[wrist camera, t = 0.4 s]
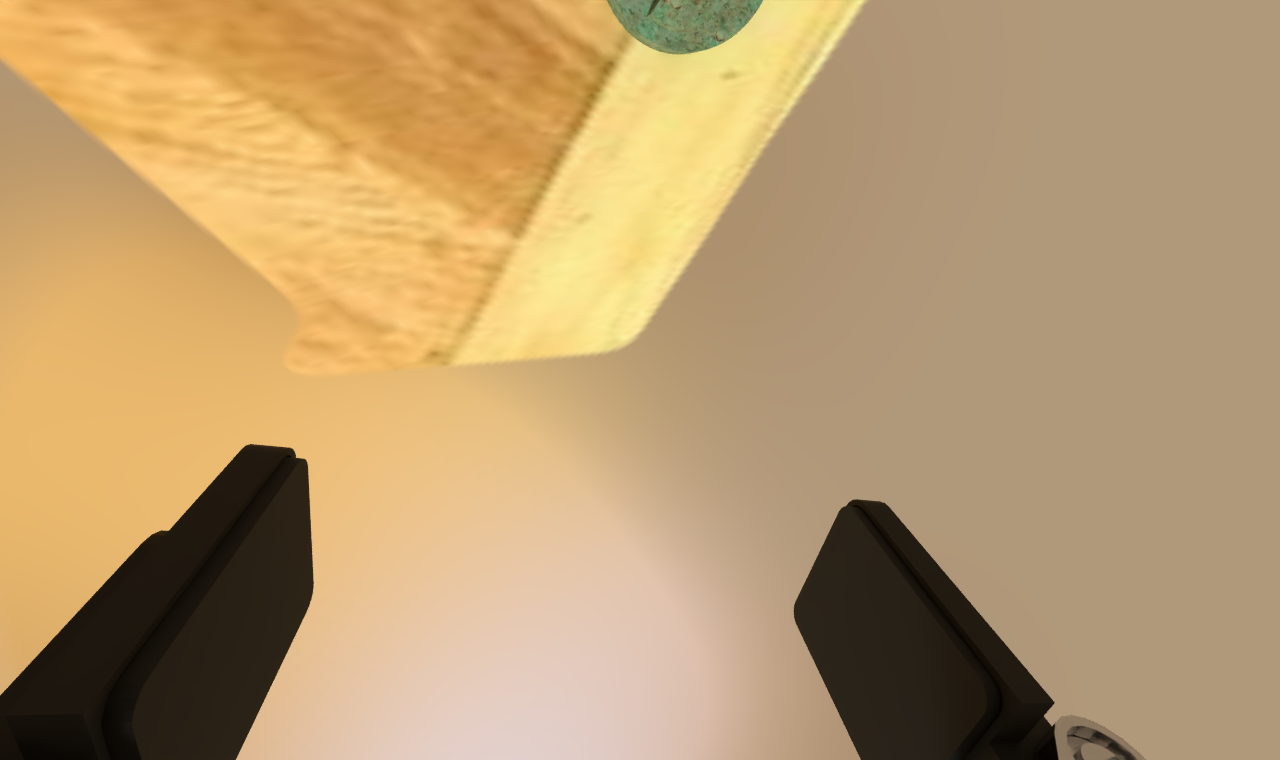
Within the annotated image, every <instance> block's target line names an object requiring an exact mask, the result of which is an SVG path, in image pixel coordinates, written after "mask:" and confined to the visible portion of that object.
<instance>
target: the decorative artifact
mask: <svg viewBox="0 0 1280 760" xmlns="http://www.w3.org/2000/svg"><path fill="white" fill-rule="evenodd" d="M607 1H608V3H609V6H610V7H611V9H612V11H613V13H614V14H615V16H616V17H617V19H618V20H619V22H620V23H621V24H622V25H623V27H624V28H625V29H626V30H627V31H628V32H629V33H630V34H631V35H632V36H633V37H635V38H636V39H637V40H638V41H640V42H641V43H643V44H644V45H646V46H648V47H650V48H652V49H655V50H657V51H660V52H664V53H669V54H689V53H694V52H698V51H702V50H706V49H710V48H712V47H715V46H717V45H720V44H722V43H723V42H725V41H727V40H728V39H730V38H731V37H733V36H734V35H735V34H737V33H738V32H739V31H740V30H741V29H742V28H743V27H744V26H745V25H746V24H747V23H748V22H749V21H750V19H751V18H752V17H753V15H754V14H755V13H756V11H757V10H758V8H759V6H760V5H761V3H762V1H763V0H607Z"/></svg>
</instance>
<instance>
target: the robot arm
mask: <svg viewBox="0 0 1280 760" xmlns="http://www.w3.org/2000/svg"><path fill="white" fill-rule="evenodd" d="M313 584H314V582H313V561H312V541H311V520H310V499H309V479H308V465H307V461H306V460H305V459H301V458H296V455H295V452H294V450H293V449H292V448H286V447H275V446H265V445H254V444H250V445H247V446H245V447H244V448H243V449H242V450H241V451H240V452H239V453H238V454H237V455H236V456H235V457H234V458H233V460H232V461H231V462H230V463H229V464H228V465H227V467H225V468H224V470H223V471H222V472H221V473H220V474H219V475H218V476H217V477H216V479H215V480H214V481H213V482H212V483H211V484H210V485H209V486H208V488H207V489H206V490H205V491H204V492H203V493H202V494H201V495H200V496H199V498H198V499H197V500H196V501H195V502H194V503H193V504H192V505H191V507H190V508H189V509H188V510H187V511H186V512H185V513H184V515H182V517H181V518H180V519H179V520H178V521H177V522H176V523H175V525H174V526H173V527H172V528H171V529H170V530H169V531H159V532H157V533H155V534H152V535H151V536H150V537H149V538H147V539H146V540H145V541H144V542H143V543H142V544H141V545H140V546H139V547H138V548H137V549H136V550H135V551H134V552H133V553H132V555H131V556H130V557H129V558H128V559H127V560H126V561H125V562H124V563H123V564H122V565H121V566H120V567H119V568H118V569H117V571H116V572H115V573H114V574H113V575H112V576H111V577H110V578H109V579H108V580H107V581H106V582H105V583H104V585H103V586H102V587H101V588H100V589H99V590H98V591H97V592H96V593H95V594H94V595H93V596H92V598H90V600H89V601H88V602H87V603H86V604H85V605H84V606H83V607H82V608H81V609H80V611H78V612H77V614H76V615H75V616H74V617H73V618H72V619H71V620H70V621H69V622H68V623H67V625H65V626H64V628H63V629H62V630H61V631H60V632H59V633H58V634H57V635H56V636H55V637H54V638H53V639H52V640H51V642H50V643H49V644H48V645H47V646H46V647H45V648H44V649H43V650H42V651H41V652H40V654H38V656H37V657H36V658H35V659H34V660H33V661H32V662H31V663H30V664H29V665H28V667H26V668H25V670H24V671H23V672H22V673H21V674H20V675H19V676H18V677H17V678H16V679H15V680H14V681H13V682H12V684H11V685H10V686H9V687H8V688H7V689H6V690H5V691H4V692H3V693H2V694H1V695H0V760H236V758H237V756H238V754H239V752H240V750H241V748H242V746H243V743H244V741H245V739H246V737H247V735H248V733H249V731H250V729H251V727H252V725H253V723H254V721H255V719H256V716H257V714H258V712H259V710H260V708H261V706H262V704H263V702H264V700H265V698H266V695H267V693H268V691H269V689H270V687H271V685H272V683H273V681H274V679H275V677H276V675H277V672H278V670H279V668H280V666H281V664H282V662H283V660H284V658H285V656H286V654H287V652H288V649H289V647H290V645H291V643H292V641H293V639H294V637H295V635H296V633H297V631H298V629H299V627H300V624H301V622H302V620H303V618H304V616H305V614H306V612H307V609H308V607H309V604H310V601H311V598H312V594H313ZM794 618H795V621H796V624H797V626H798V628H799V631H800V633H801V635H802V637H803V639H804V641H805V643H806V645H807V647H808V650H809V652H810V654H811V656H812V658H813V660H814V662H815V664H816V666H817V668H818V670H819V673H820V675H821V677H822V679H823V681H824V683H825V685H826V687H827V689H828V692H829V694H830V696H831V698H832V700H833V702H834V704H835V706H836V708H837V710H838V712H839V715H840V717H841V719H842V721H843V723H844V725H845V727H846V729H847V731H848V733H849V736H850V738H851V740H852V742H853V744H854V746H855V748H856V750H857V752H858V754H859V756H860V759H861V760H1146V759H1145V758H1144V757H1143V756H1142V755H1141V754H1140V753H1139V752H1137V750H1135V749H1134V748H1133V747H1132V746H1130V745H1129V744H1128V743H1127V742H1126V741H1124V740H1123V739H1122V738H1121V737H1119V736H1118V735H1116V734H1114V733H1113V732H1111V731H1110V730H1108V729H1107V728H1105V727H1103V726H1101V725H1099V724H1097V723H1095V722H1093V721H1091V720H1088V719H1086V718H1082V717H1077V716H1073V715H1070V716H1063V717H1061V718H1060V719H1059V720H1058V721H1057V722H1056V723H1055V724H1054V725H1053V726H1051V725H1050V724H1049V722H1048V721H1047V720H1046V719H1045V717H1044V715H1045V714H1046V713H1047V711H1048V710H1049V709H1050V708H1051V707H1052V705H1053V704H1054V701H1053V700H1052V699H1051V698H1050V697H1049V695H1048V694H1047V693H1046V692H1045V691H1044V689H1043V688H1042V687H1041V686H1040V685H1039V683H1038V682H1037V681H1036V680H1035V679H1034V678H1033V676H1032V675H1031V674H1030V673H1029V672H1028V670H1027V669H1026V668H1025V667H1024V666H1023V665H1022V664H1021V662H1020V661H1019V660H1018V659H1017V657H1015V655H1014V654H1013V653H1012V652H1011V650H1010V649H1009V648H1008V647H1007V646H1006V645H1005V643H1004V642H1003V641H1002V640H1001V639H1000V637H999V636H998V635H997V634H996V633H995V631H994V630H993V629H992V628H991V627H990V626H989V624H988V623H987V622H986V621H985V620H984V619H983V617H982V616H981V615H980V614H979V613H978V612H977V610H976V609H975V608H974V607H973V606H972V605H971V603H970V602H969V601H968V600H967V598H965V596H964V595H963V594H962V593H961V591H960V590H959V589H958V588H957V587H956V585H955V584H954V583H953V582H952V581H951V580H950V578H949V577H948V576H947V575H946V574H945V572H944V571H943V570H942V569H941V568H940V567H939V565H938V564H937V563H936V562H935V561H934V559H933V558H932V557H931V556H930V555H929V554H928V552H927V551H926V550H925V549H924V548H923V546H922V545H921V544H920V543H919V542H918V541H917V539H916V538H915V537H914V536H913V535H912V533H911V532H910V531H909V530H908V529H907V528H906V526H905V525H904V524H903V523H902V522H901V521H900V519H899V518H898V517H897V516H896V515H895V513H894V512H893V511H892V510H891V509H890V508H889V506H887V505H886V504H885V503H882V502H879V501H868V500H852V501H850V502H849V503H848V504H847V506H845V507H843V508H841V510H840V511H839V513H838V515H837V517H836V519H835V521H834V523H833V525H832V527H831V529H830V532H829V534H828V536H827V538H826V540H825V542H824V544H823V546H822V548H821V550H820V552H819V555H818V556H817V558H816V561H815V563H814V565H813V567H812V569H811V571H810V573H809V575H808V578H807V579H806V581H805V583H804V585H803V587H802V590H801V592H800V594H799V596H798V598H797V600H796V602H795V605H794Z"/></svg>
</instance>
